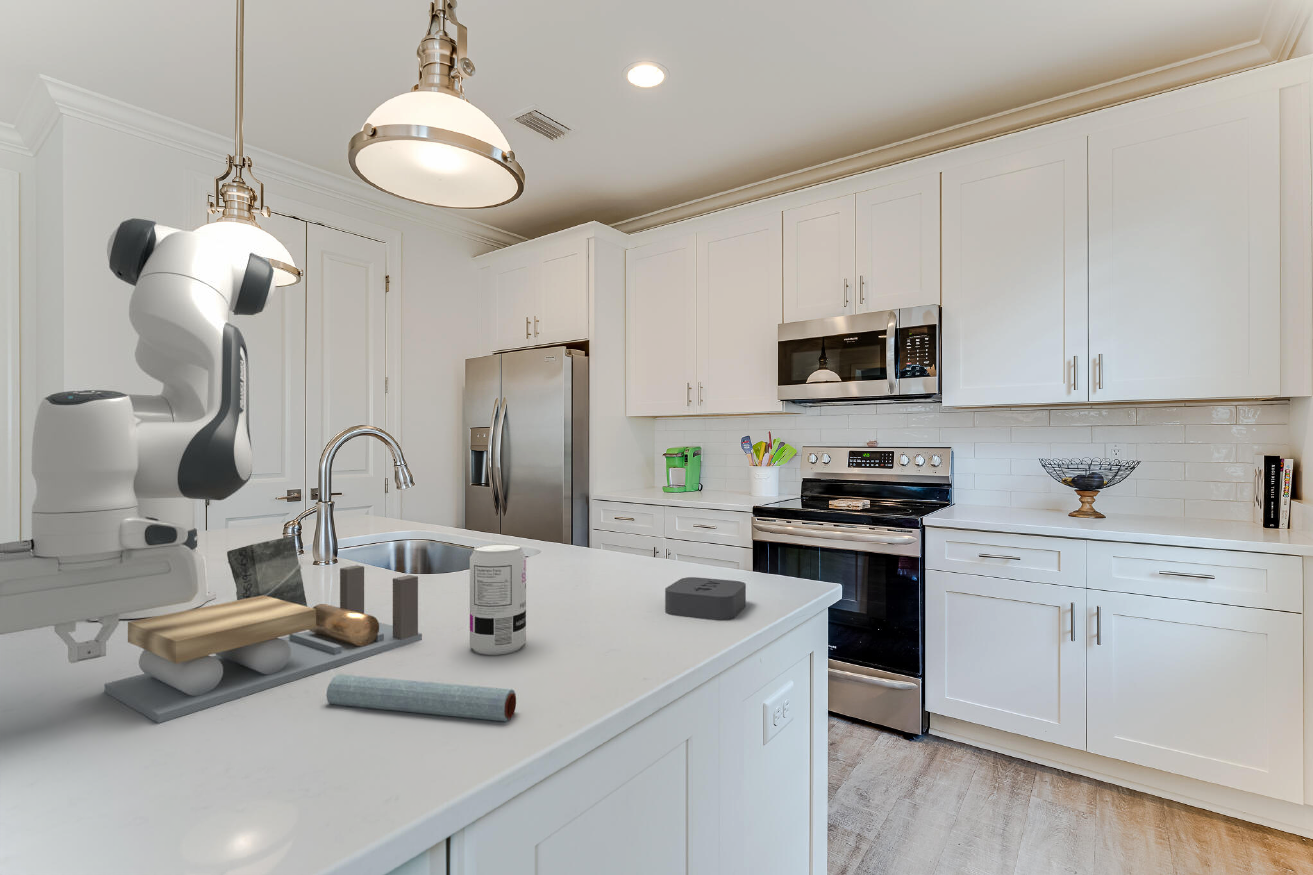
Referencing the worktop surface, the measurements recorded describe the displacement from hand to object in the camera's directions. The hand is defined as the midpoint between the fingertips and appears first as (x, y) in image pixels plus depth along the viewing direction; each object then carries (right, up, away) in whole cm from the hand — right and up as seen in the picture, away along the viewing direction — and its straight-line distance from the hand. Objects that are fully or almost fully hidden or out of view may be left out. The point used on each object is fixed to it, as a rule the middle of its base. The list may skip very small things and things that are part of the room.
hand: (87, 658), depth 70 cm
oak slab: (+7, -1, +12) cm, 14 cm away
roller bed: (+11, -7, +18) cm, 22 cm away
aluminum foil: (+36, -7, +1) cm, 37 cm away
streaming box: (+73, -7, +45) cm, 86 cm away
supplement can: (+40, -7, +24) cm, 47 cm away
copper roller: (+16, -4, +25) cm, 30 cm away
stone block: (0, -7, +32) cm, 32 cm away
